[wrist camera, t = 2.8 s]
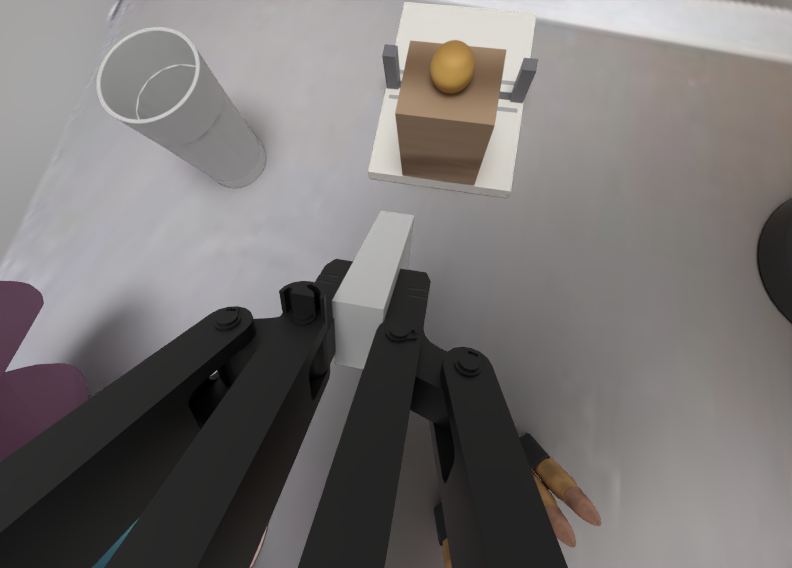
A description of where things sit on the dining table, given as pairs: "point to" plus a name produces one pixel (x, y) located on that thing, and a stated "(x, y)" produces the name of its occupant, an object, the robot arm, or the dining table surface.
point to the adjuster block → (447, 109)
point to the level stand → (517, 76)
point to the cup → (179, 105)
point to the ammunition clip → (552, 480)
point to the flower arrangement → (35, 383)
